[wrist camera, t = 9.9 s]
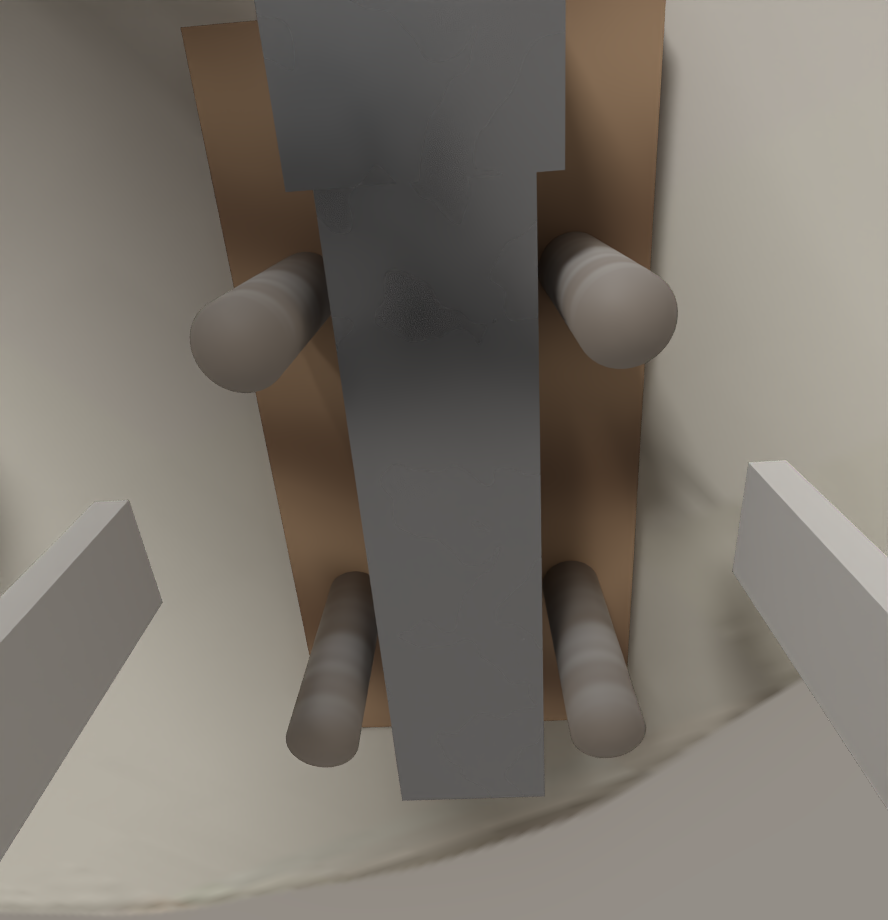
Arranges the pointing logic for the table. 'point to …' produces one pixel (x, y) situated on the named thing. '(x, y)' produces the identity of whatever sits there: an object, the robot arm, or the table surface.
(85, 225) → the table surface
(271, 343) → the rack
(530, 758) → the grey notched bar
